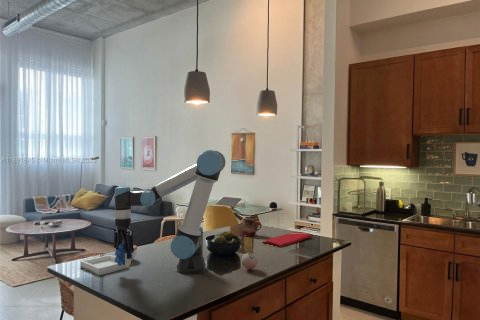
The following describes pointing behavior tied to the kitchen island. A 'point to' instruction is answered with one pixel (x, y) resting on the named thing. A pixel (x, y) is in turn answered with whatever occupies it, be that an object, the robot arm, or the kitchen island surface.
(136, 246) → the lidded jar
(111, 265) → the tray
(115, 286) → the kitchen island surface
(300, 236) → the dish drying mat
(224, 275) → the kitchen island surface
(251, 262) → the decorative fruit
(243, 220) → the decorative planter
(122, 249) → the grapes
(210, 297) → the kitchen island surface
